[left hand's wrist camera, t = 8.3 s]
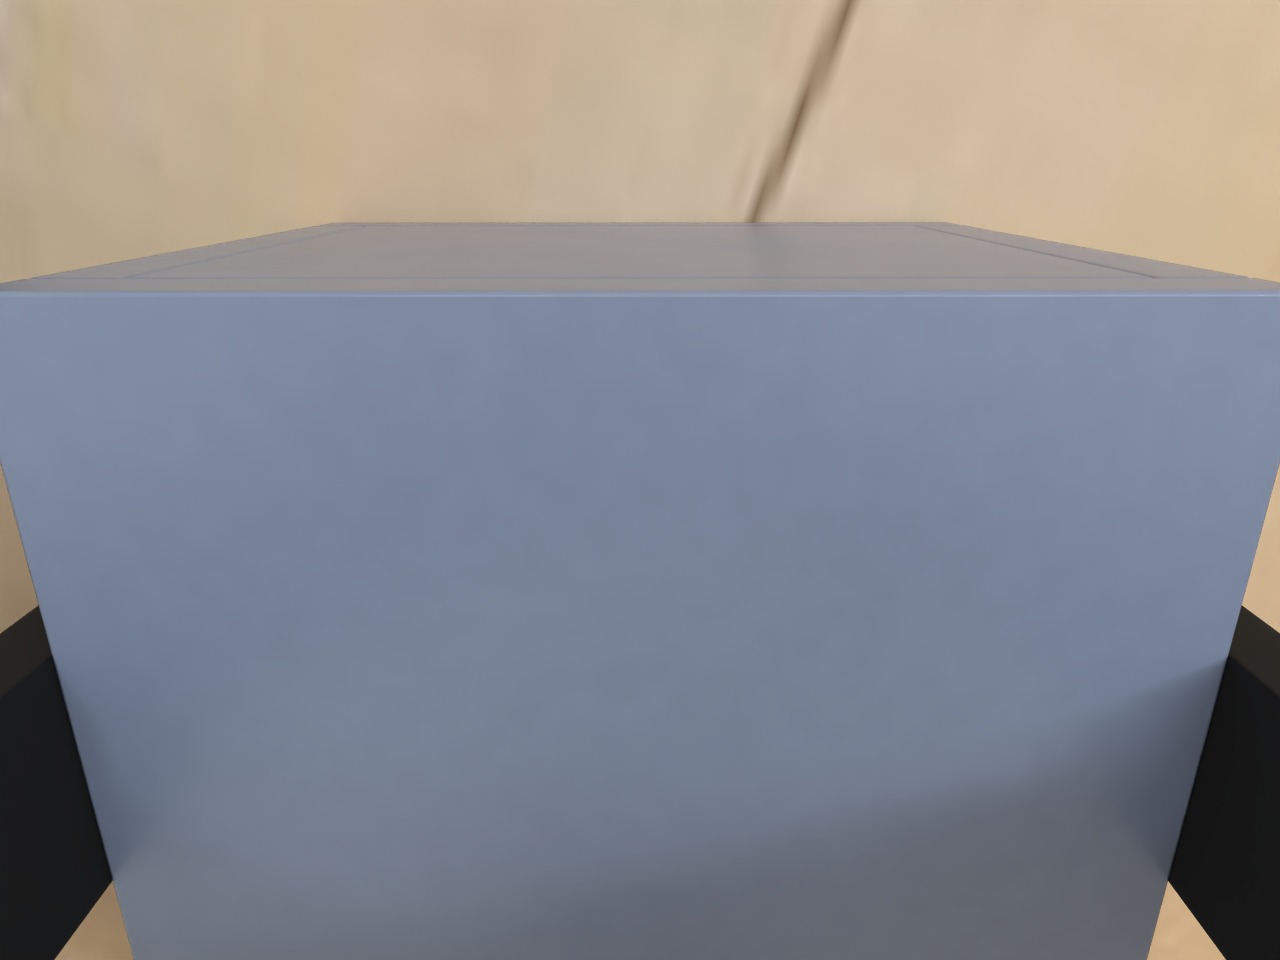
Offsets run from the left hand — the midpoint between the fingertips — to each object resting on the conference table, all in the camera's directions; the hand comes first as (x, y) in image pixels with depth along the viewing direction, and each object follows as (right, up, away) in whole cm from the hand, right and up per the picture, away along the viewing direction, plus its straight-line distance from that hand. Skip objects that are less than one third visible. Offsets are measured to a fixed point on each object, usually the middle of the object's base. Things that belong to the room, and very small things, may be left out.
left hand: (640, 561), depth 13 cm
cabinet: (0, -2, +5) cm, 6 cm away
